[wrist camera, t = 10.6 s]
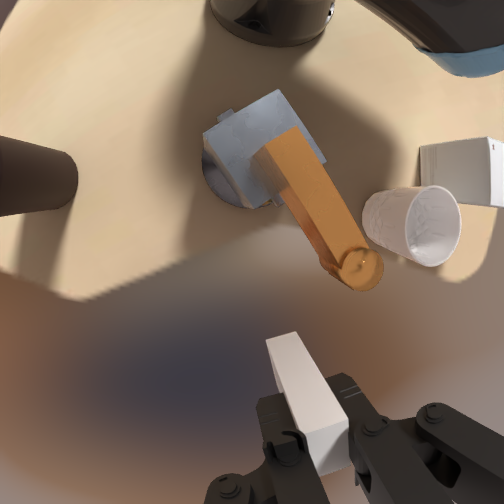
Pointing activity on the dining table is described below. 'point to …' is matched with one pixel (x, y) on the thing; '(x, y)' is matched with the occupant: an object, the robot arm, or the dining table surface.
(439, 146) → the supplement box
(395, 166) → the dining table surface
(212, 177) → the dark grey cylinder
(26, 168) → the bottle
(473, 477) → the robot arm
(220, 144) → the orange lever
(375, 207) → the white cup
